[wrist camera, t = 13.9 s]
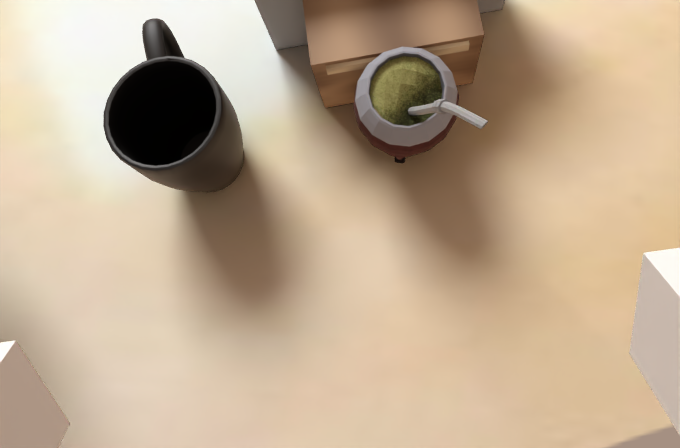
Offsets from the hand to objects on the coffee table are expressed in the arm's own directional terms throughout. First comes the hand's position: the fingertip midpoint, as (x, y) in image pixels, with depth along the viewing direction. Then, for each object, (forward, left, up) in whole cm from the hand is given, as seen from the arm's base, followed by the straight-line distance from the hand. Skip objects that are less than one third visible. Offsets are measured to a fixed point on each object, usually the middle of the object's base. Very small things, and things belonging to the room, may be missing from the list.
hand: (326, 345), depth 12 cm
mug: (-12, +19, -30) cm, 37 cm away
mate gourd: (+4, +16, -29) cm, 33 cm away
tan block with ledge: (+4, +23, -30) cm, 38 cm away
